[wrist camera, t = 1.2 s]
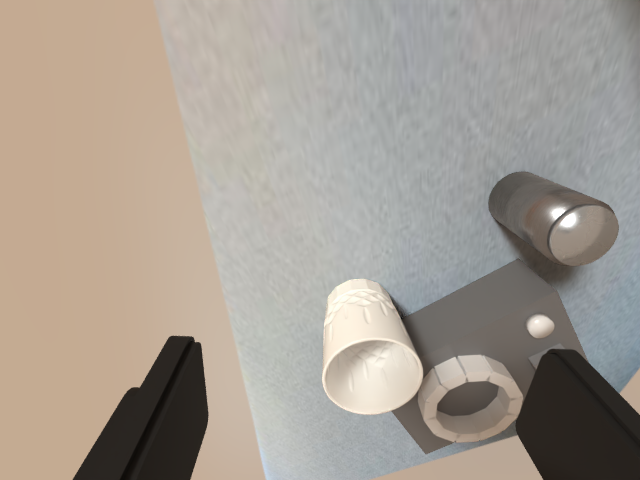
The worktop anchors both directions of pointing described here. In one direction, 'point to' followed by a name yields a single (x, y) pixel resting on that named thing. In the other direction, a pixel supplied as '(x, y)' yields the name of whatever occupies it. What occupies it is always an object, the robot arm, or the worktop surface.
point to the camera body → (482, 355)
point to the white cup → (367, 351)
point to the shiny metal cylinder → (554, 218)
